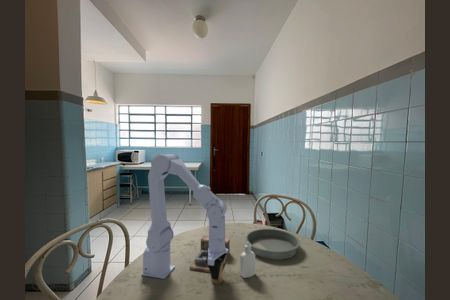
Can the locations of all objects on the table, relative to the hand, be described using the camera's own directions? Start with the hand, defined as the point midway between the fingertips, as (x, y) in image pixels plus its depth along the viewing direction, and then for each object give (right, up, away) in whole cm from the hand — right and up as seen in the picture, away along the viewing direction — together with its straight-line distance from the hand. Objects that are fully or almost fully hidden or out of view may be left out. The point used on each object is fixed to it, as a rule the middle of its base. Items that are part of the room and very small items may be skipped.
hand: (216, 275), depth 74 cm
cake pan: (+25, -2, +25) cm, 35 cm away
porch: (-3, -2, +13) cm, 14 cm away
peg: (0, -2, 0) cm, 2 cm away
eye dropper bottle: (+11, -2, +3) cm, 12 cm away
